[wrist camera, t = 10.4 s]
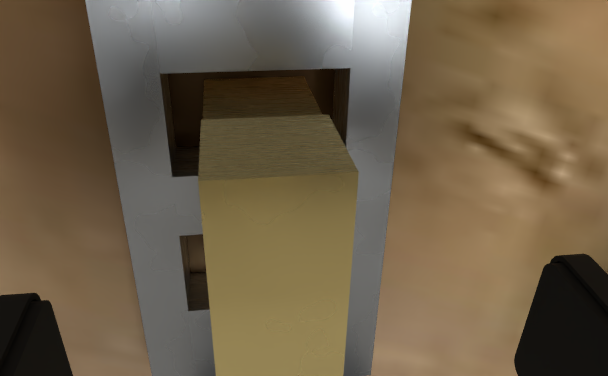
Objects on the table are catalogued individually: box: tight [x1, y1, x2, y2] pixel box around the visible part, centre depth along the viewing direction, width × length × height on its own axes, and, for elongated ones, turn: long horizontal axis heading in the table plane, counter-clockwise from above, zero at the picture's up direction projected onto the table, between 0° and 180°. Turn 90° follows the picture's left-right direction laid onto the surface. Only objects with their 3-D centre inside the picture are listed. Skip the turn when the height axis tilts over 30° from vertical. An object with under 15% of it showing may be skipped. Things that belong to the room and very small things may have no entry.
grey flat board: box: [85, 0, 412, 376], centre depth 14 cm, size 26×8×2 cm, turn 179°
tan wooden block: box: [198, 76, 359, 376], centre depth 15 cm, size 7×3×7 cm, turn 179°
